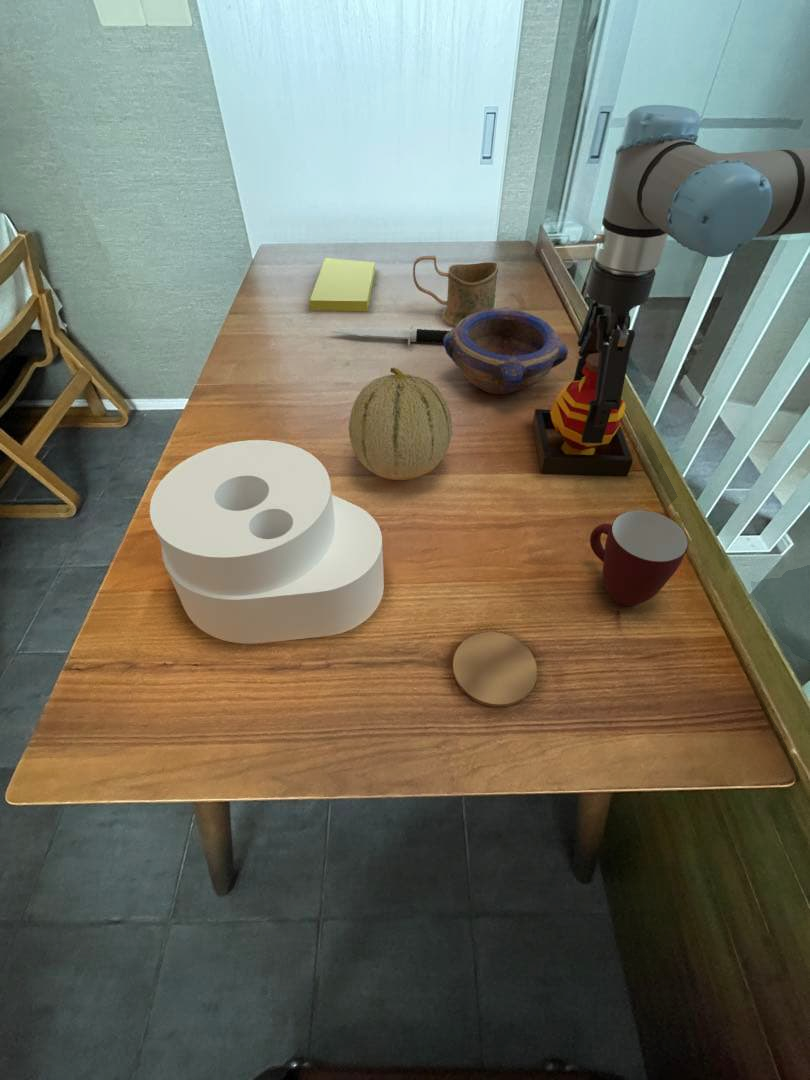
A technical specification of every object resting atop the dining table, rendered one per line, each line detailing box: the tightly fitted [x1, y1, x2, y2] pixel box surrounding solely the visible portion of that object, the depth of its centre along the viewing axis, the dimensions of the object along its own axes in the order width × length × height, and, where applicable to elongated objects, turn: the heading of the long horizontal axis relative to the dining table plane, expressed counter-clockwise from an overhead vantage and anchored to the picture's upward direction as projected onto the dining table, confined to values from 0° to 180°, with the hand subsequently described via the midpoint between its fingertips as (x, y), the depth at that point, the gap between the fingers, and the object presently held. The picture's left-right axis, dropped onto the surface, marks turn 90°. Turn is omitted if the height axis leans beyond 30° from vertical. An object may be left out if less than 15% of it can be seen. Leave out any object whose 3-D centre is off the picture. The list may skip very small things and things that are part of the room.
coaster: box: [452, 631, 538, 708], centre depth 63 cm, size 9×9×1 cm
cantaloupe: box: [348, 367, 453, 481], centre depth 82 cm, size 15×15×15 cm
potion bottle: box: [550, 353, 627, 455], centre depth 85 cm, size 10×10×15 cm
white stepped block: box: [149, 439, 385, 645], centre depth 67 cm, size 20×25×14 cm
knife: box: [329, 324, 450, 346], centre depth 115 cm, size 26×2×5 cm
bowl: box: [443, 306, 569, 395], centre depth 101 cm, size 18×18×10 cm
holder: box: [532, 408, 633, 477], centre depth 89 cm, size 13×13×3 cm
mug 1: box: [412, 255, 499, 328], centre depth 118 cm, size 12×18×12 cm, turn 88°
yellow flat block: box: [309, 257, 376, 312], centre depth 132 cm, size 12×2×24 cm
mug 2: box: [589, 509, 689, 607], centre depth 67 cm, size 11×8×10 cm
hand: (584, 419), depth 87 cm, fingers closed on potion bottle, 10 cm apart
